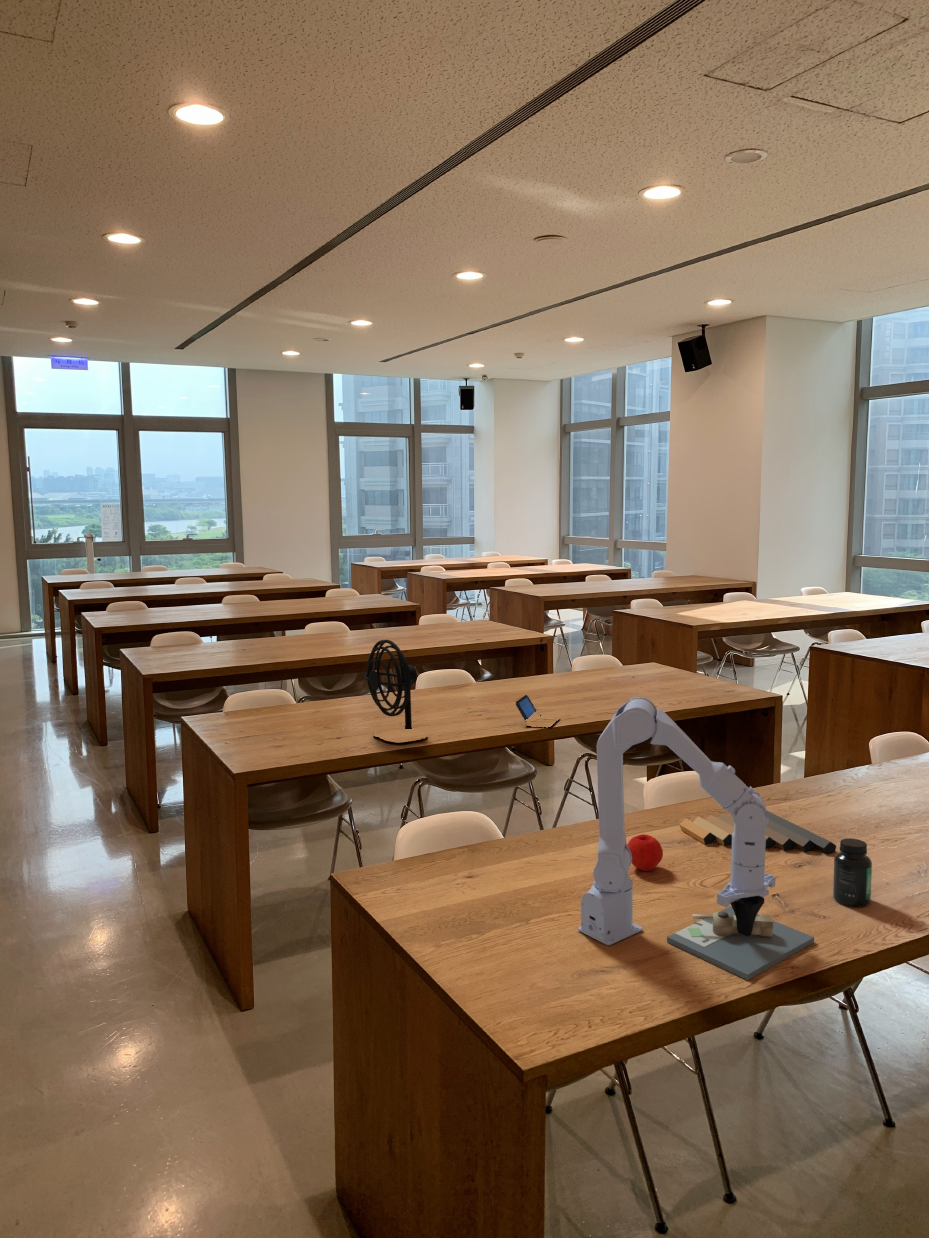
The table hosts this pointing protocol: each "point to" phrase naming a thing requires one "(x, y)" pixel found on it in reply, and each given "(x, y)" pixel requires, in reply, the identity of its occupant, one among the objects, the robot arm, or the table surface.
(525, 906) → the table surface
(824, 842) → the pan flute
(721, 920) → the peg lever
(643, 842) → the apple
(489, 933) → the table surface
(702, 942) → the grey square board
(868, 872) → the supplement bottle
